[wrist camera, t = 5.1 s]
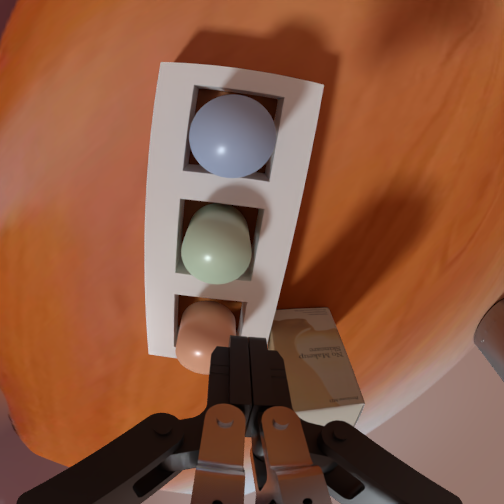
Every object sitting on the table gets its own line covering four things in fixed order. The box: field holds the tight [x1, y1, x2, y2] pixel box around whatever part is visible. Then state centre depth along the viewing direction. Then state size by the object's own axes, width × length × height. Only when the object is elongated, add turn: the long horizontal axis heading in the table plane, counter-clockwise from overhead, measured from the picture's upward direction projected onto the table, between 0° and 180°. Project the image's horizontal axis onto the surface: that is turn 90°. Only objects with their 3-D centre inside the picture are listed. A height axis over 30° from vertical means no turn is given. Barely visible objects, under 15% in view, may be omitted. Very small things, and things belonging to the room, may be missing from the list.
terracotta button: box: [175, 301, 236, 374], centre depth 24 cm, size 5×5×4 cm
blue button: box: [189, 94, 276, 178], centre depth 18 cm, size 5×5×4 cm
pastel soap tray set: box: [145, 62, 324, 358], centre depth 24 cm, size 11×25×3 cm, turn 171°
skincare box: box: [267, 308, 365, 427], centre depth 25 cm, size 6×4×12 cm
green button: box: [181, 203, 252, 284], centre depth 22 cm, size 5×5×4 cm
